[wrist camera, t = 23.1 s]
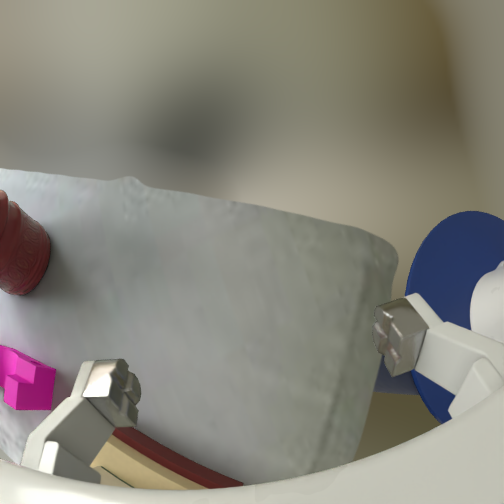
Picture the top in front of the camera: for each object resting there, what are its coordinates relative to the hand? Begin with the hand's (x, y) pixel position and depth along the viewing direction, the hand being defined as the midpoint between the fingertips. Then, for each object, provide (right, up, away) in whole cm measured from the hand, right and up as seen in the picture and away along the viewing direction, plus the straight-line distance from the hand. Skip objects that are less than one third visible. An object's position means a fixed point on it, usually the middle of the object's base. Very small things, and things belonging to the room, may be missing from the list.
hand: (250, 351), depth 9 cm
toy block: (-35, -15, +22) cm, 44 cm away
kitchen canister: (-38, +2, +30) cm, 48 cm away
